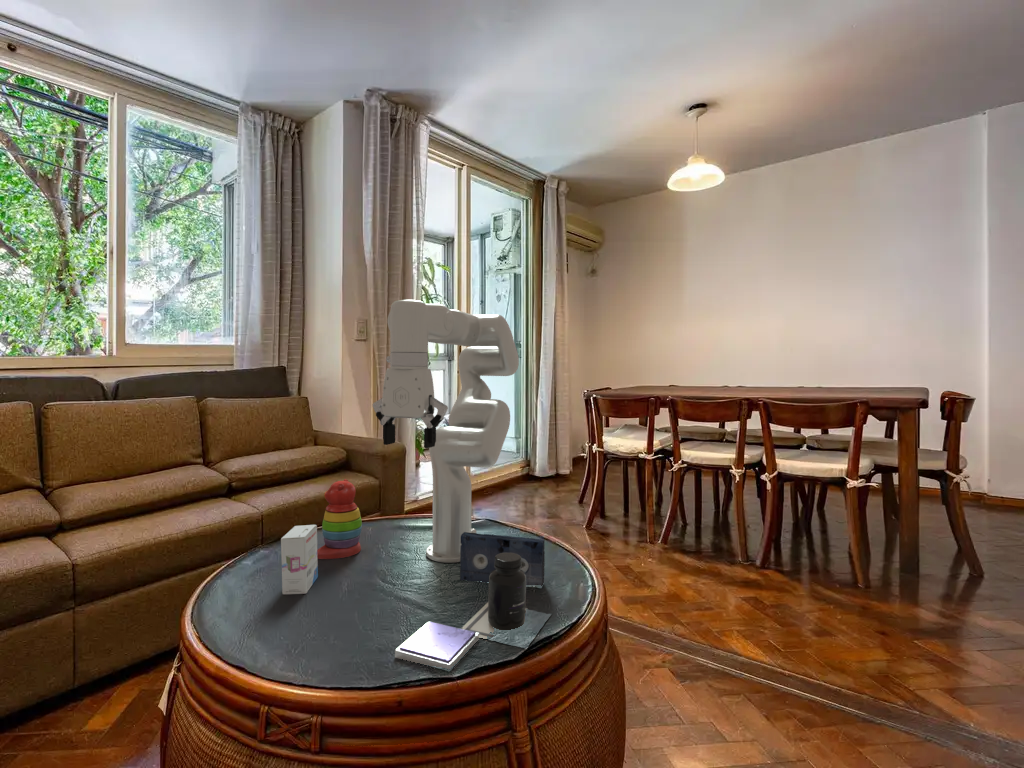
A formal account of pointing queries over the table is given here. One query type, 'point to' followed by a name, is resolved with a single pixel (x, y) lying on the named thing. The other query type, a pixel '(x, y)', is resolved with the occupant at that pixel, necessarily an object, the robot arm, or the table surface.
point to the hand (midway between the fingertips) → (409, 445)
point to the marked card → (480, 623)
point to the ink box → (299, 559)
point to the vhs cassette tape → (485, 547)
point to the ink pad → (437, 645)
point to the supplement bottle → (507, 593)
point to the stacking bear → (340, 522)
